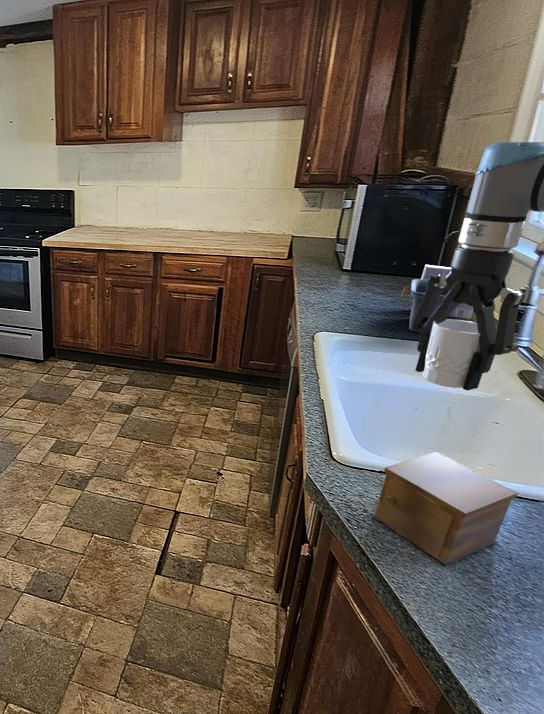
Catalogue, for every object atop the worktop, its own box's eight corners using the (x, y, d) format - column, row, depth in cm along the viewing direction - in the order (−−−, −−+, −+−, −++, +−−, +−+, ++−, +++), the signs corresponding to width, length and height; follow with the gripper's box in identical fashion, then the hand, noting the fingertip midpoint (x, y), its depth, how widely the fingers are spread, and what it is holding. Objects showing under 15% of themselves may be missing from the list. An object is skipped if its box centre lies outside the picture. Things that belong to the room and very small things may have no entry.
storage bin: (447, 339, 173) (460, 296, 167) (393, 330, 180) (403, 289, 175) (445, 322, 189) (457, 283, 184) (395, 315, 197) (405, 277, 192)
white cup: (433, 368, 97) (448, 316, 93) (481, 383, 91) (500, 328, 87) (409, 376, 93) (424, 323, 90) (458, 393, 87) (476, 336, 83)
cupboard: (497, 543, 84) (518, 492, 80) (441, 568, 79) (461, 515, 75) (420, 498, 94) (435, 451, 91) (366, 517, 89) (380, 468, 85)
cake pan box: (472, 317, 195) (487, 270, 189) (473, 320, 191) (489, 272, 185) (411, 309, 204) (423, 264, 198) (411, 312, 200) (424, 266, 194)
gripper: (408, 238, 91) (377, 361, 99) (547, 261, 73) (495, 407, 82) (437, 236, 93) (405, 356, 102) (577, 257, 76) (524, 399, 84)
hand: (445, 378), depth 92 cm, fingers closed on white cup, 8 cm apart
